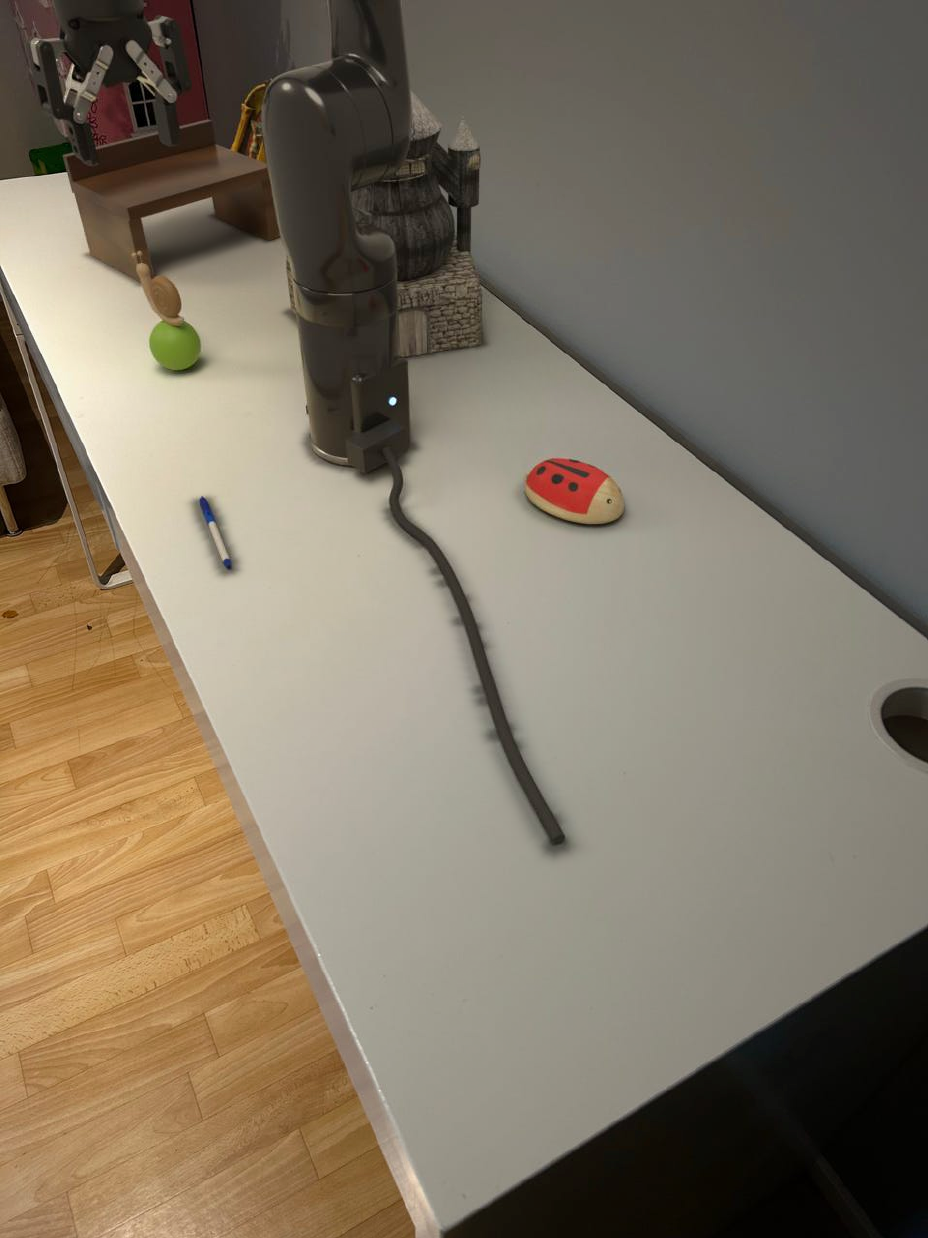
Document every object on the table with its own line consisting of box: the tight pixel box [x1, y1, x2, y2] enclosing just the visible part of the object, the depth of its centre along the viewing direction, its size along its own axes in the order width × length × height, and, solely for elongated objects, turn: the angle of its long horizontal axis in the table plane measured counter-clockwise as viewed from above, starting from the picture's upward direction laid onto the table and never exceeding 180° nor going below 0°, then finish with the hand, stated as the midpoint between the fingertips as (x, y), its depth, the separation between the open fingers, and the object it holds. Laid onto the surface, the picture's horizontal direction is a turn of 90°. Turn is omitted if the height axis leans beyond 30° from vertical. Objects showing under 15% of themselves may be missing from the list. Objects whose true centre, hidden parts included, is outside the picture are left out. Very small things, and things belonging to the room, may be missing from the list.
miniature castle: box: [285, 89, 483, 358], centre depth 102 cm, size 22×16×30 cm
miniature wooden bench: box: [62, 119, 280, 283], centre depth 125 cm, size 14×22×13 cm, turn 136°
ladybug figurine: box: [524, 457, 625, 525], centre depth 85 cm, size 7×10×4 cm
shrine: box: [230, 78, 274, 163], centre depth 141 cm, size 12×8×15 cm
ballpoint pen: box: [199, 495, 232, 570], centre depth 82 cm, size 10×1×1 cm, turn 25°
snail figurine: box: [132, 251, 202, 371], centre depth 100 cm, size 5×6×12 cm
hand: (131, 153), depth 89 cm, fingers open, 8 cm apart
